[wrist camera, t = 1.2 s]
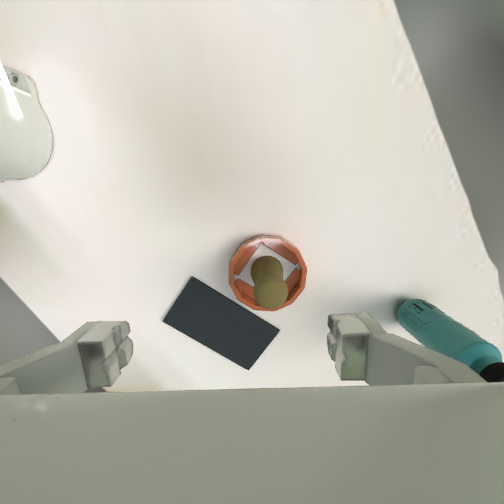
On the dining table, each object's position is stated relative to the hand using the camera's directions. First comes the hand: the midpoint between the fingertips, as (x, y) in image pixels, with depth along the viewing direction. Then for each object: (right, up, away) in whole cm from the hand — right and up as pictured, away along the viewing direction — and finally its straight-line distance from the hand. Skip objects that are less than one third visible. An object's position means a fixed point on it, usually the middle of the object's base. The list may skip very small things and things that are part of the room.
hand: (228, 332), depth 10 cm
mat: (-5, -11, +39) cm, 41 cm away
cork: (+4, 0, +36) cm, 37 cm away
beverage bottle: (+31, -8, +38) cm, 50 cm away
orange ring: (+4, 0, +36) cm, 36 cm away
